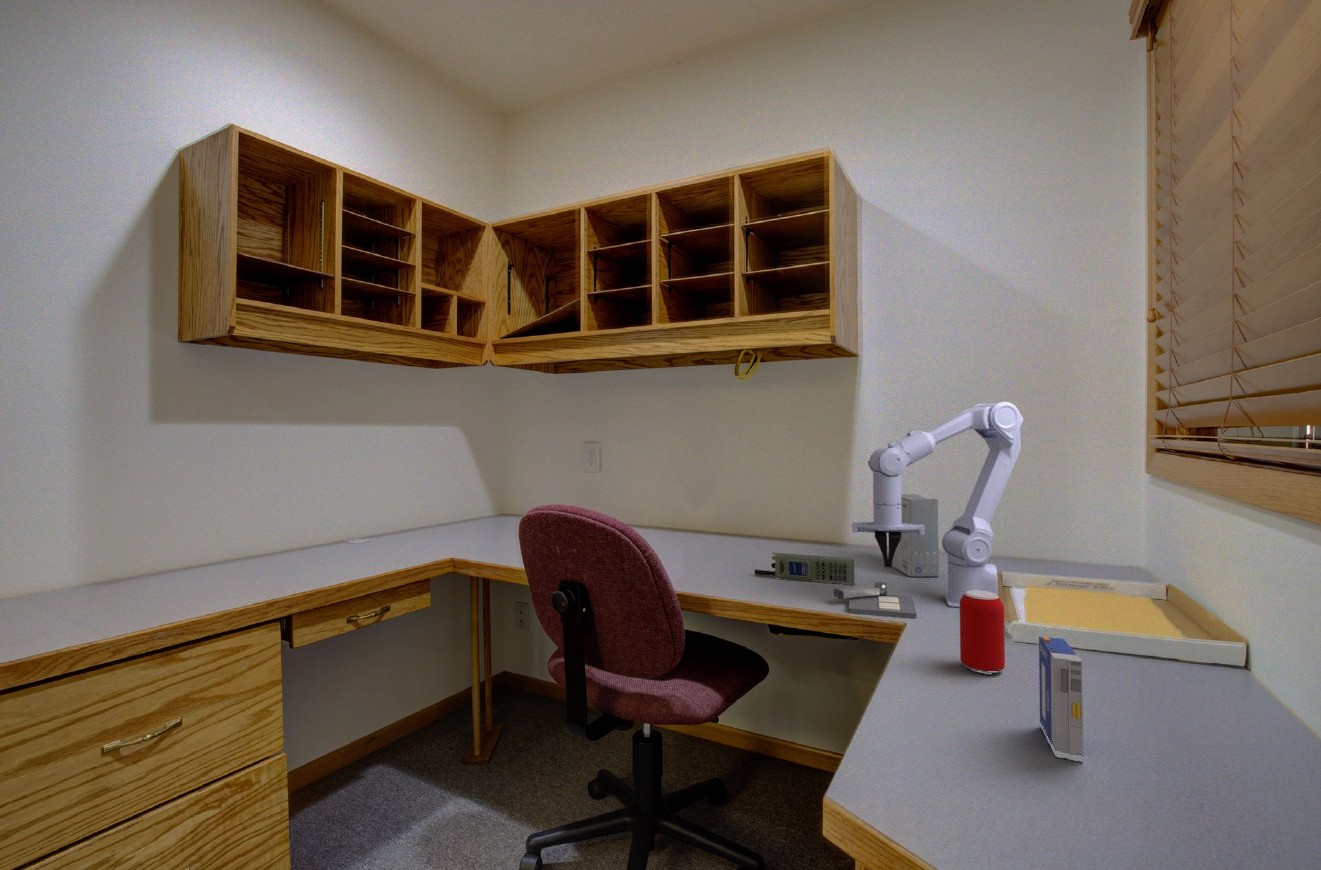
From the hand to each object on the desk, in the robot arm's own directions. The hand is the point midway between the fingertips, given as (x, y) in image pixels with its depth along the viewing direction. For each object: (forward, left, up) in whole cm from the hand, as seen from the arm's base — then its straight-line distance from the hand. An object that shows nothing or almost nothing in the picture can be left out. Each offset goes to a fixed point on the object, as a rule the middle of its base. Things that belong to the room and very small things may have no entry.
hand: (888, 566), depth 129 cm
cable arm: (+6, -1, -7) cm, 9 cm away
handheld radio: (+20, -17, -9) cm, 28 cm away
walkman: (-18, +54, -9) cm, 58 cm away
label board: (+1, +1, -8) cm, 9 cm away
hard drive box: (-7, -35, -9) cm, 37 cm away
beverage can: (-13, +32, -9) cm, 36 cm away
